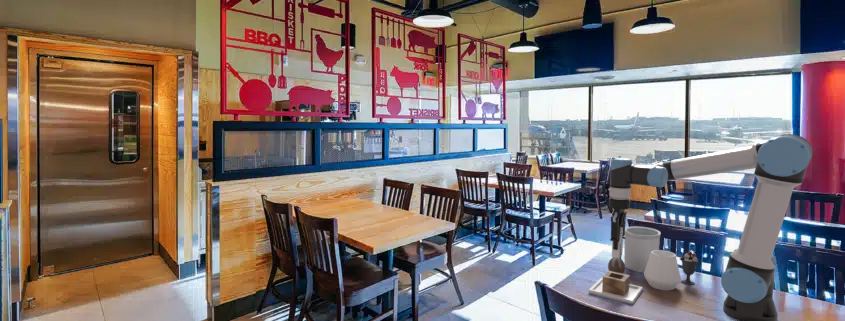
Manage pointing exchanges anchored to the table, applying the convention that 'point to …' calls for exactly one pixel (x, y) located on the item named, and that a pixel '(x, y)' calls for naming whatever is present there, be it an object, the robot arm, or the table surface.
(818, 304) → the table surface
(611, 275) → the wooden square holder
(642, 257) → the utensil holder
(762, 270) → the robot arm
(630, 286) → the tray
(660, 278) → the cup
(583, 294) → the table surface
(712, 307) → the table surface
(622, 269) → the vase
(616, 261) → the pin
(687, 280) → the sundae
